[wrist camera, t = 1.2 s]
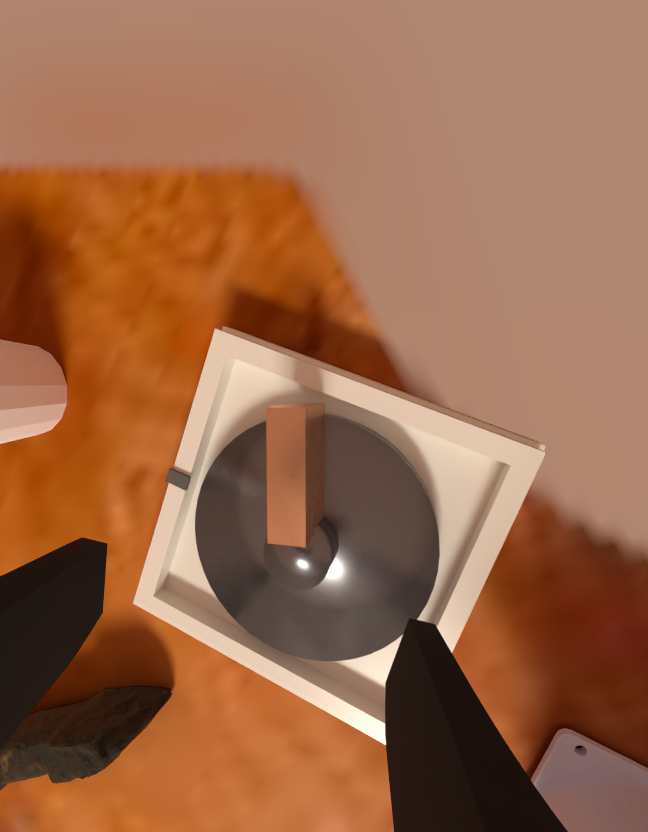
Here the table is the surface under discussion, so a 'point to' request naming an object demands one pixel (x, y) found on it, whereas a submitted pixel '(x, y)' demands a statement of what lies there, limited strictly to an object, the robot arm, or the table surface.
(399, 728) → the robot arm
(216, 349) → the dial plate
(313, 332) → the table surface
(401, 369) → the table surface
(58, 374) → the white cylinder
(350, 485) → the dial
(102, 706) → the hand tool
